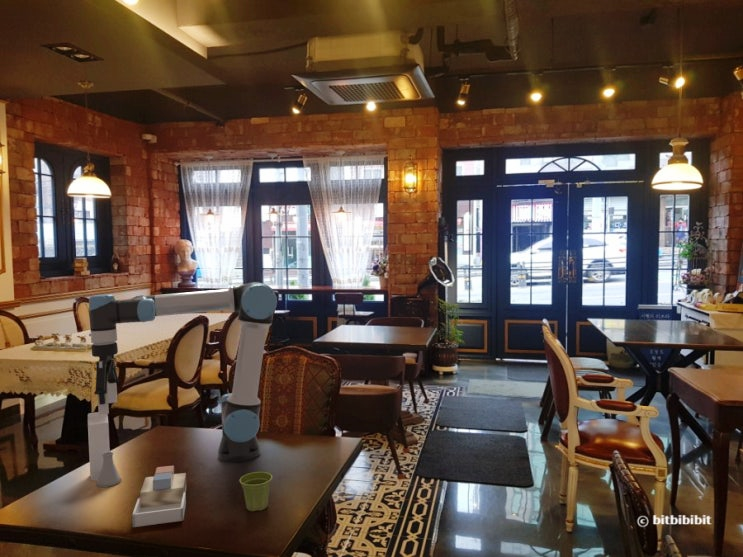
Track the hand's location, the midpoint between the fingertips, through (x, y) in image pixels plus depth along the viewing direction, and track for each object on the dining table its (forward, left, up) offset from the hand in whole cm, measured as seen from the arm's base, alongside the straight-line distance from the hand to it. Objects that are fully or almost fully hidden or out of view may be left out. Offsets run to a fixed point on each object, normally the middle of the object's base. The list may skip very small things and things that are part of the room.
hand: (108, 408), depth 180 cm
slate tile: (-18, +18, -20) cm, 33 cm away
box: (-18, +27, -25) cm, 41 cm away
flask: (+1, -2, -26) cm, 26 cm away
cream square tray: (-18, +15, -25) cm, 35 cm away
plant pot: (-45, +30, -26) cm, 60 cm away
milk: (+5, -9, -26) cm, 28 cm away
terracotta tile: (-18, +13, -20) cm, 30 cm away
